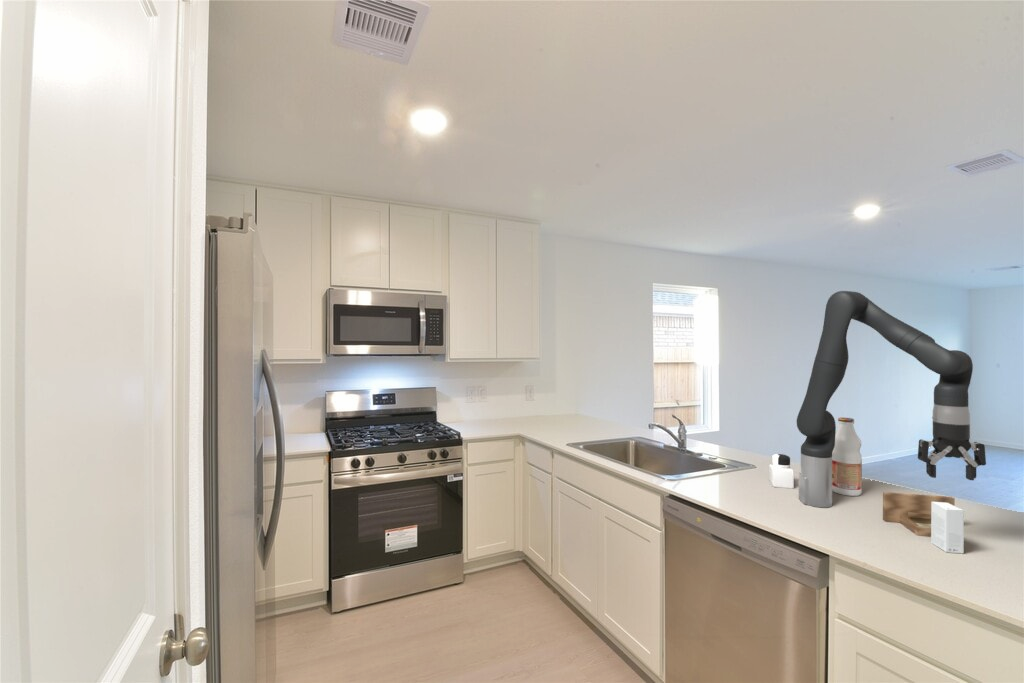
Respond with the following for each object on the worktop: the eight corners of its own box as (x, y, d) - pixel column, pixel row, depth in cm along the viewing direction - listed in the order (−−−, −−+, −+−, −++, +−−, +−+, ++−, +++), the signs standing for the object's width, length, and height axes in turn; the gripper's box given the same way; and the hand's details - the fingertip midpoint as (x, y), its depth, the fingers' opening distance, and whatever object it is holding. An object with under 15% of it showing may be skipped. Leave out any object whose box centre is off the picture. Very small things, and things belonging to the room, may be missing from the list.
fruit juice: (847, 497, 163) (847, 421, 163) (824, 489, 173) (824, 416, 172) (868, 495, 165) (868, 420, 165) (844, 486, 175) (844, 415, 174)
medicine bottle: (789, 483, 180) (789, 453, 180) (793, 489, 173) (793, 458, 173) (769, 481, 182) (769, 452, 182) (773, 487, 175) (773, 456, 175)
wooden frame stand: (901, 534, 134) (902, 504, 134) (882, 519, 144) (882, 491, 144) (976, 540, 129) (976, 509, 129) (951, 525, 139) (951, 496, 139)
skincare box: (964, 554, 121) (964, 510, 121) (946, 552, 122) (946, 509, 122) (947, 543, 127) (947, 502, 127) (930, 542, 128) (930, 501, 128)
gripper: (927, 422, 125) (927, 480, 125) (992, 424, 120) (992, 484, 120) (912, 417, 132) (912, 472, 132) (973, 419, 128) (973, 476, 128)
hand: (951, 478), depth 126 cm, fingers open, 8 cm apart
